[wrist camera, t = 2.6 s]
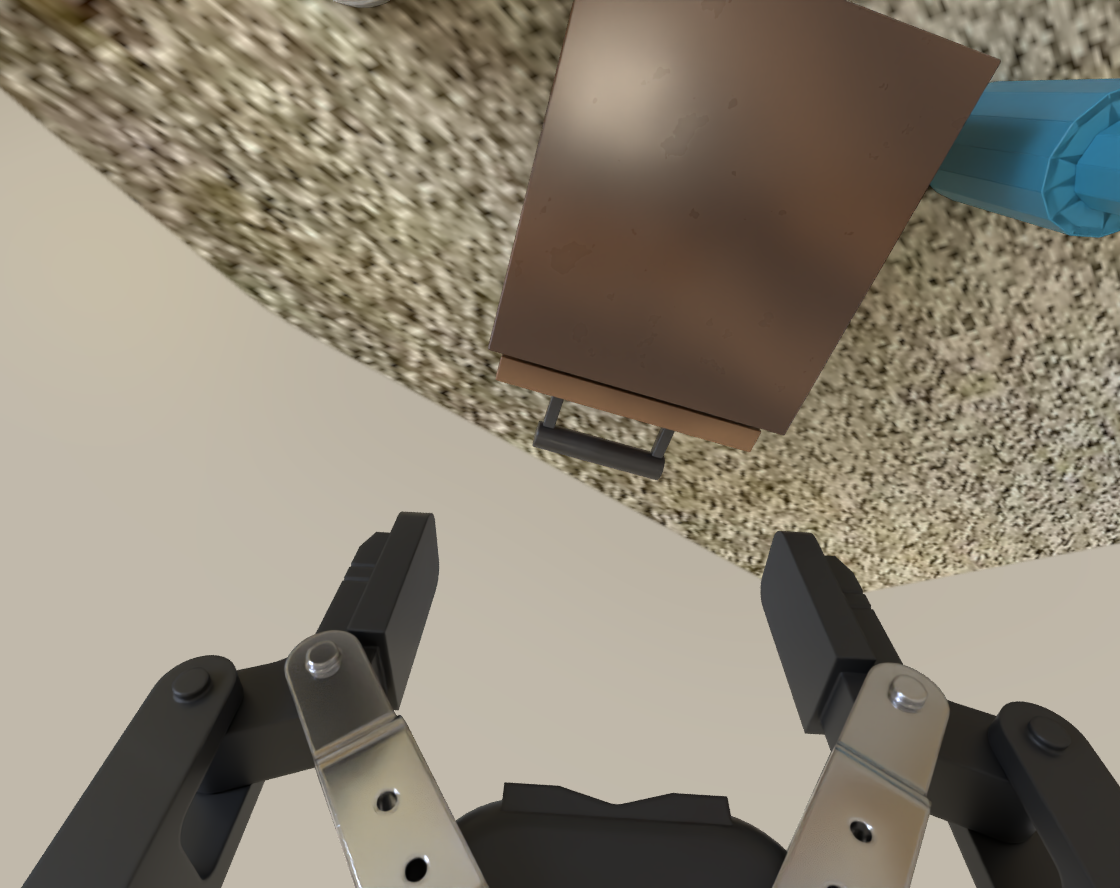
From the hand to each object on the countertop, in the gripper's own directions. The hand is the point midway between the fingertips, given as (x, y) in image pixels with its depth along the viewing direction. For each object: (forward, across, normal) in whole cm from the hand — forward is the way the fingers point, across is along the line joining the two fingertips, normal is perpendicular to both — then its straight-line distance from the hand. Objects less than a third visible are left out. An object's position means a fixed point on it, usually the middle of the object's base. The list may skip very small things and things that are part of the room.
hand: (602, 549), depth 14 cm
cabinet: (+22, +4, +5) cm, 23 cm away
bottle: (+22, +18, +8) cm, 29 cm away
